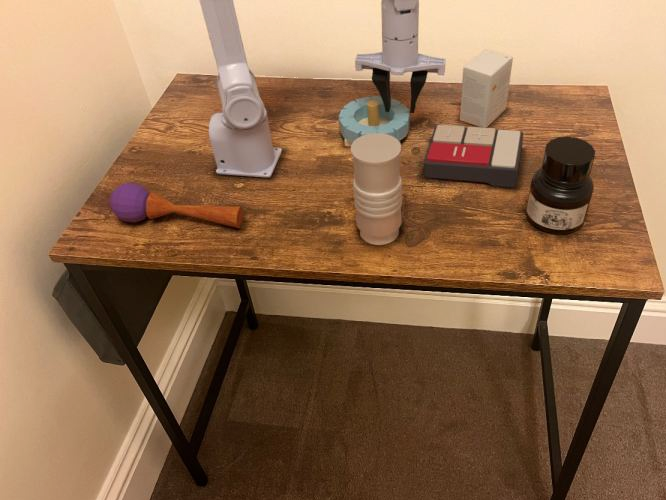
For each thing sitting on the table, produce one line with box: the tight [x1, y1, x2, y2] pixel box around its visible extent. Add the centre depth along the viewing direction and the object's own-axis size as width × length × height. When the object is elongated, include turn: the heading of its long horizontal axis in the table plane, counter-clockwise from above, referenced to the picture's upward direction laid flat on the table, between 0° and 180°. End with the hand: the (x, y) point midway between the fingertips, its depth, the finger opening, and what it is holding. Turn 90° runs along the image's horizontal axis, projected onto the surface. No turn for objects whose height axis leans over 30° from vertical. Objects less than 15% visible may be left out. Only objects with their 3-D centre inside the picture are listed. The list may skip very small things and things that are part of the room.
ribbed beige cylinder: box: [350, 133, 403, 246], centre depth 88 cm, size 7×7×15 cm
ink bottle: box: [525, 136, 596, 235], centre depth 90 cm, size 10×9×12 cm
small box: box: [459, 48, 514, 128], centre depth 110 cm, size 8×6×10 cm
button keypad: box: [423, 124, 524, 189], centre depth 103 cm, size 11×4×15 cm
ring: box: [338, 95, 411, 143], centre depth 109 cm, size 12×12×3 cm
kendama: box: [109, 182, 245, 229], centre depth 94 cm, size 6×6×20 cm
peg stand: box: [343, 101, 391, 148], centre depth 109 cm, size 9×9×6 cm
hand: (400, 109), depth 107 cm, fingers open, 4 cm apart
